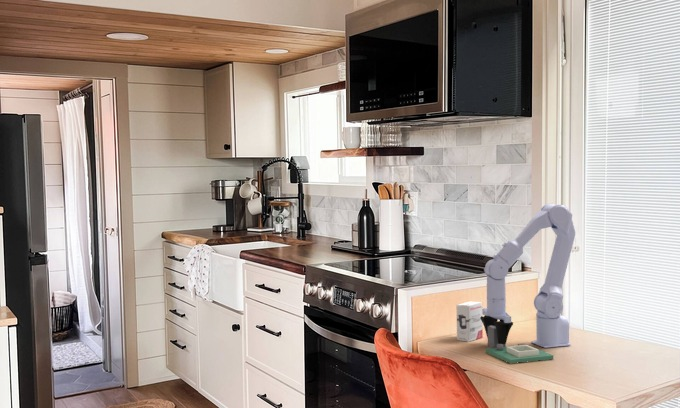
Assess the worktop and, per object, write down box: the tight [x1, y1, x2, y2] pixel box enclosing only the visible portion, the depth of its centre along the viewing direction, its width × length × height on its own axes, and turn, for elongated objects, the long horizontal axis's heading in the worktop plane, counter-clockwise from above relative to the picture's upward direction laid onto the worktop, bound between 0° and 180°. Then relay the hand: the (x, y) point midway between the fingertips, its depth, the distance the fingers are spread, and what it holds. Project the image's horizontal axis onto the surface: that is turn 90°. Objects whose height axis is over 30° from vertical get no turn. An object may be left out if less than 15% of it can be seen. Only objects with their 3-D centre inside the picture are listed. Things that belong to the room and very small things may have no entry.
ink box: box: [456, 300, 484, 343], centre depth 225 cm, size 8×5×12 cm, turn 137°
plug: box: [487, 326, 507, 348], centre depth 215 cm, size 4×4×6 cm
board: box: [485, 343, 554, 364], centre depth 203 cm, size 14×14×3 cm
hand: (496, 341), depth 215 cm, fingers open, 6 cm apart
